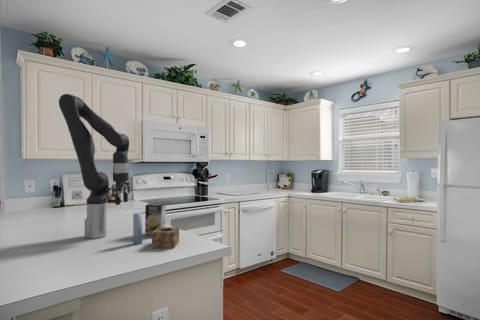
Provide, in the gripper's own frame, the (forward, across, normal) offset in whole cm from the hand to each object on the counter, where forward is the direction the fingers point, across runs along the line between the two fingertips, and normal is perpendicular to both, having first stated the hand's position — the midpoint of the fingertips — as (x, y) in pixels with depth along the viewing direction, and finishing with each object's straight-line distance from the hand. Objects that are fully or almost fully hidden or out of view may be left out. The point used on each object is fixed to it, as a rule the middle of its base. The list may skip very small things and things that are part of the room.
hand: (121, 203), depth 146 cm
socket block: (+18, +13, +27) cm, 35 cm away
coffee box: (+18, -5, +15) cm, 24 cm away
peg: (+17, +12, +13) cm, 25 cm away
